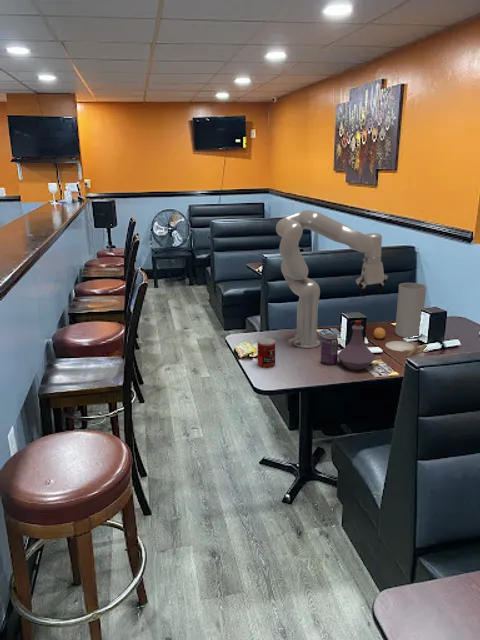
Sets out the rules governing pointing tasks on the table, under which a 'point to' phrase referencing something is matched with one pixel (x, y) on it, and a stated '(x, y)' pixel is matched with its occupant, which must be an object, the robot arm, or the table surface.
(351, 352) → the flask
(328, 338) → the beverage can
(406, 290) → the cylinder vase
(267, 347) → the canned food
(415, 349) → the stopper rail
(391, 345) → the mark
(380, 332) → the ball
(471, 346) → the table surface
